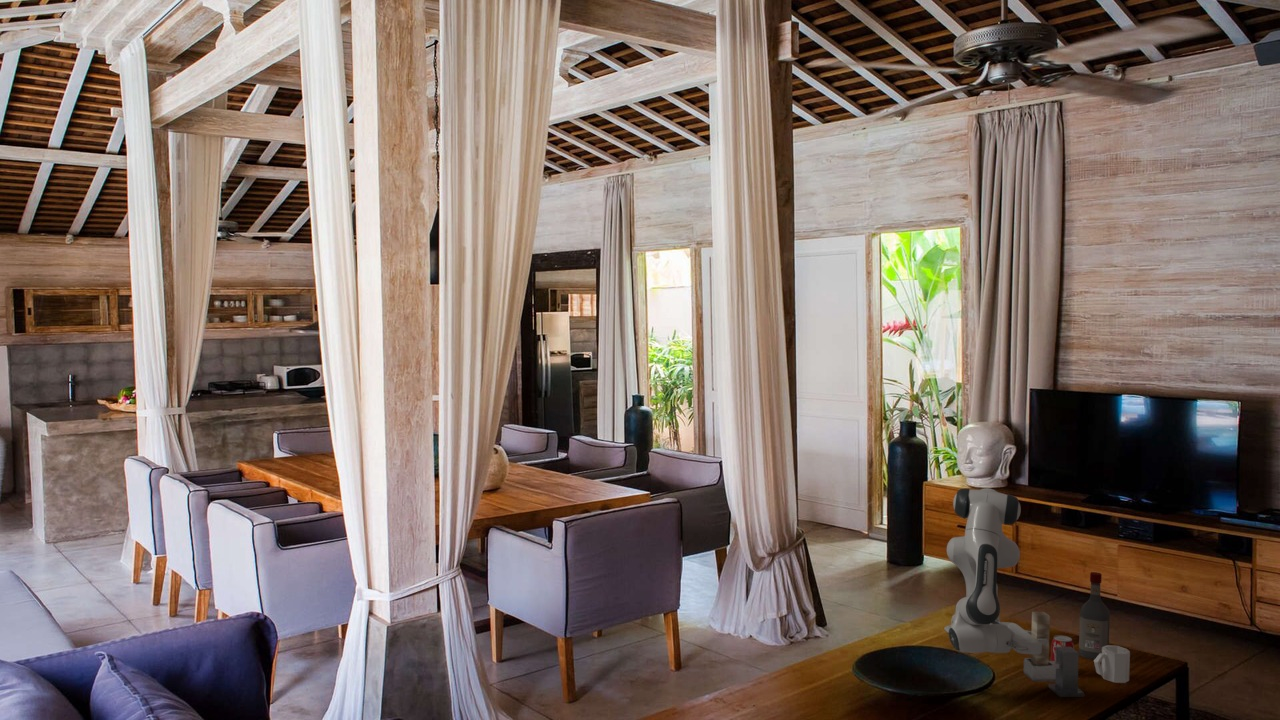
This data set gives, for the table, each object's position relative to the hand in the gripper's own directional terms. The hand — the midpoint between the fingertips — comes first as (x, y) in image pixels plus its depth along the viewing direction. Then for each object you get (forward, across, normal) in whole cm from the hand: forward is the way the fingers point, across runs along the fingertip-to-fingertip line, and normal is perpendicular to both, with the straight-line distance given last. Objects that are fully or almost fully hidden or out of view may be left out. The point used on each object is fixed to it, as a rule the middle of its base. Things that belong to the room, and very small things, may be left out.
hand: (1043, 638), depth 306 cm
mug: (+28, +10, +18) cm, 35 cm away
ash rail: (-1, 0, +10) cm, 10 cm away
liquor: (+34, +31, +18) cm, 49 cm away
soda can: (+15, +16, +18) cm, 28 cm away
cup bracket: (+4, 0, +18) cm, 18 cm away
